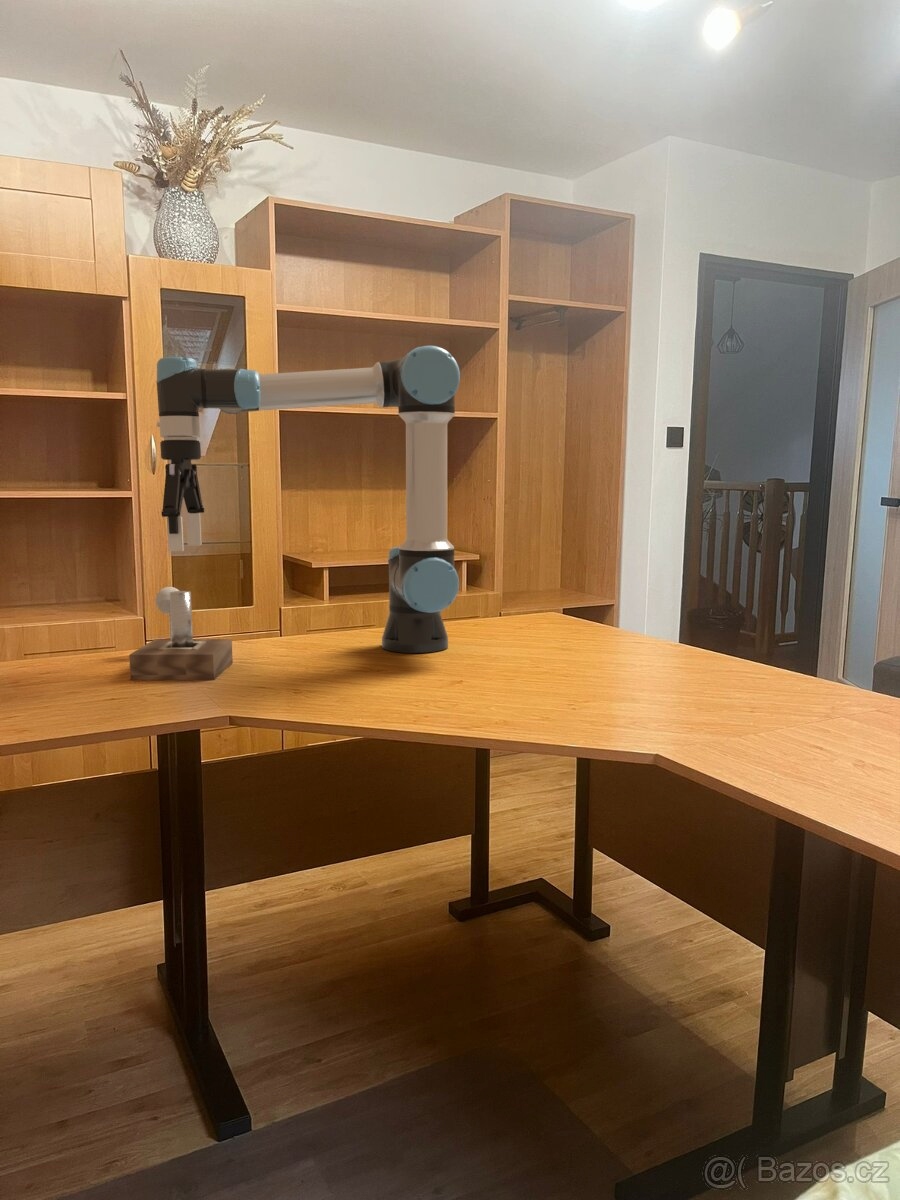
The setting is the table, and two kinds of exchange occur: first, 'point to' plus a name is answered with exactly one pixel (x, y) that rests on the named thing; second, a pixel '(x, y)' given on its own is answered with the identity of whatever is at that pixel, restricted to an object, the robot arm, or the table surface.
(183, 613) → the pin
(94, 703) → the table surface
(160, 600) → the lollipop
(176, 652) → the bore block
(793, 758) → the table surface
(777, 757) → the table surface
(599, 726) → the table surface
